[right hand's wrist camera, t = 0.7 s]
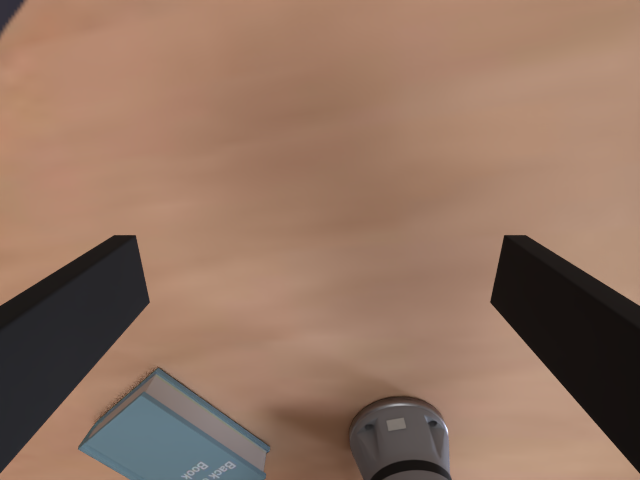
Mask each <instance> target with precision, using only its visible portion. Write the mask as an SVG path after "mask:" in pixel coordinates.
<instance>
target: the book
mask: <svg viewBox="0 0 640 480" xmlns="http://www.w3.org/2000/svg"><path fill="white" fill-rule="evenodd" d="M78 449H79V450H80V451H82V452H84V453H85V454H87V455H89V456H91V457H92V458H94V459H96V460H97V461H99V462H101V463H103V464H104V465H106V466H108V467H110V468H111V469H113V470H115V471H116V472H118V473H120V474H122V475H123V476H125V477H127V478H128V479H130V480H264V479H266V473H264V466H265V459H266V453H268V452H269V451H270V447H269V446H268V445H266V444H265V443H263V442H262V441H261V440H259V439H258V438H256V437H255V436H253V435H252V434H251V433H249V432H248V431H246V430H245V429H244V428H242V427H241V426H239V425H238V424H237V423H235V422H234V421H232V420H231V419H230V418H228V417H227V416H225V415H224V414H222V413H221V412H220V411H218V410H217V409H215V408H214V407H213V406H211V405H210V404H208V403H207V402H206V401H204V400H203V399H201V398H200V397H198V396H197V395H196V394H194V393H193V392H191V391H190V390H189V389H187V388H186V387H184V386H183V385H182V384H180V383H179V382H177V381H176V380H175V379H173V378H172V377H170V376H169V375H167V374H166V373H165V372H163V371H162V370H160V369H159V368H157V369H156V370H155V371H154V372H153V373H152V374H150V375H149V376H148V377H147V378H146V379H145V380H143V381H142V382H141V383H140V384H139V385H138V386H137V387H135V388H134V389H133V390H132V391H131V392H130V393H129V394H127V395H126V396H125V397H124V398H123V399H122V400H120V401H119V402H118V403H117V404H116V405H115V406H114V407H112V408H111V409H110V410H109V411H108V412H107V413H106V414H105V415H104V416H102V417H101V418H100V419H99V420H98V421H97V422H96V423H95V424H94V426H93V427H92V428H91V429H90V431H89V432H88V434H87V435H86V437H85V438H84V439H83V441H82V442H81V444H80V445H79V447H78Z"/></svg>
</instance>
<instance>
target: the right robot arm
mask: <svg viewBox="0 0 640 480" xmlns="http://www.w3.org/2000/svg"><path fill="white" fill-rule="evenodd" d="M149 303H150V301H149V296H148V292H147V287H146V282H145V277H144V273H143V268H142V263H141V258H140V253H139V249H138V244H137V239H136V235H114V236H112V237H111V238H109V239H107V240H106V241H104V242H103V243H101V244H99V245H98V246H96V247H95V248H93V249H91V250H90V251H88V252H86V253H85V254H83V255H82V256H80V257H78V258H77V259H75V260H74V261H72V262H70V263H69V264H67V265H66V266H64V267H62V268H61V269H59V270H57V271H56V272H54V273H53V274H51V275H49V276H48V277H46V278H45V279H43V280H41V281H40V282H38V283H37V284H35V285H33V286H32V287H30V288H28V289H27V290H25V291H24V292H22V293H20V294H19V295H17V296H16V297H14V298H12V299H11V300H9V301H8V302H6V303H4V304H3V305H1V306H0V473H1V472H2V471H3V470H4V468H5V467H6V466H7V465H8V464H9V463H10V462H11V460H12V459H13V458H14V457H15V456H16V455H17V454H18V452H19V451H20V450H21V449H22V448H23V447H24V446H25V444H26V443H27V442H28V441H29V440H30V439H31V438H32V436H33V435H34V434H35V433H36V432H37V431H38V430H39V428H40V427H41V426H42V425H43V424H44V423H45V422H46V420H47V419H48V418H49V417H50V416H51V415H52V414H53V412H54V411H55V410H56V409H57V408H58V407H59V406H60V404H61V403H62V402H63V401H64V400H65V399H66V398H67V396H68V395H69V394H70V393H71V392H72V391H73V390H74V388H75V387H76V386H77V385H78V384H79V383H80V382H81V380H82V379H83V378H84V377H85V376H86V375H87V374H88V372H89V371H90V370H91V369H92V368H93V367H94V366H95V364H96V363H97V362H98V361H99V360H100V359H101V358H102V356H103V355H104V354H105V353H106V352H107V351H108V350H109V348H110V347H111V346H112V345H113V344H114V343H115V342H116V340H117V339H118V338H119V337H120V336H121V335H122V334H123V332H124V331H125V330H126V329H127V328H128V327H129V325H130V324H131V323H132V322H133V321H134V320H135V319H136V317H137V316H138V315H139V314H140V313H141V312H142V311H143V309H144V308H145V307H146V306H147V305H148V304H149ZM490 303H491V304H492V305H493V306H494V307H495V308H496V309H497V311H498V312H499V313H500V314H501V315H502V316H503V317H504V319H505V320H506V321H507V322H508V323H509V324H510V325H511V327H512V328H513V329H514V330H515V331H516V332H517V334H518V335H519V336H520V337H521V338H522V339H523V340H524V342H525V343H526V344H527V345H528V346H529V347H530V348H531V350H532V351H533V352H534V353H535V354H536V355H537V356H538V358H539V359H540V360H541V361H542V362H543V363H544V364H545V366H546V367H547V368H548V369H549V370H550V371H551V372H552V374H553V375H554V376H555V377H556V378H557V379H558V380H559V382H560V383H561V384H562V385H563V386H564V387H565V388H566V390H567V391H568V392H569V393H570V394H571V395H572V396H573V398H574V399H575V400H576V401H577V402H578V403H579V404H580V406H581V407H582V408H583V409H584V410H585V411H586V412H587V414H588V415H589V416H590V417H591V418H592V419H593V420H594V422H595V423H596V424H597V425H598V426H599V427H600V428H601V430H602V431H603V432H604V433H605V434H606V435H607V436H608V438H609V439H610V440H611V441H612V442H613V443H614V444H615V446H616V447H617V448H618V449H619V450H620V451H621V452H622V454H623V455H624V456H625V457H626V458H627V459H628V460H629V462H630V463H631V464H632V465H633V466H634V467H635V468H636V470H637V471H638V472H639V473H640V306H639V305H637V304H636V303H634V302H632V301H631V300H629V299H628V298H626V297H624V296H623V295H621V294H620V293H618V292H616V291H615V290H613V289H612V288H610V287H608V286H607V285H605V284H603V283H602V282H600V281H599V280H597V279H595V278H594V277H592V276H591V275H589V274H587V273H586V272H584V271H583V270H581V269H579V268H578V267H576V266H574V265H573V264H571V263H570V262H568V261H566V260H565V259H563V258H562V257H560V256H558V255H557V254H555V253H554V252H552V251H550V250H549V249H547V248H545V247H544V246H542V245H541V244H539V243H537V242H536V241H534V240H533V239H531V238H529V237H528V236H526V235H504V239H503V244H502V249H501V253H500V258H499V263H498V268H497V273H496V277H495V282H494V287H493V292H492V296H491V301H490ZM349 438H350V447H351V451H352V454H353V457H354V459H355V461H356V463H357V466H358V468H359V470H360V472H361V475H362V477H363V479H364V480H452V479H451V476H450V463H449V437H448V431H447V428H446V425H445V423H444V420H443V418H442V416H441V414H440V413H439V412H438V411H437V410H436V409H435V408H434V407H433V406H432V405H430V404H428V403H426V402H424V401H422V400H419V399H415V398H409V397H393V398H387V399H383V400H380V401H377V402H375V403H372V404H370V405H369V406H367V407H365V408H364V409H363V410H362V411H360V412H359V413H358V414H357V415H356V417H355V418H354V420H353V421H352V424H351V426H350V431H349Z"/></svg>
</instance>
